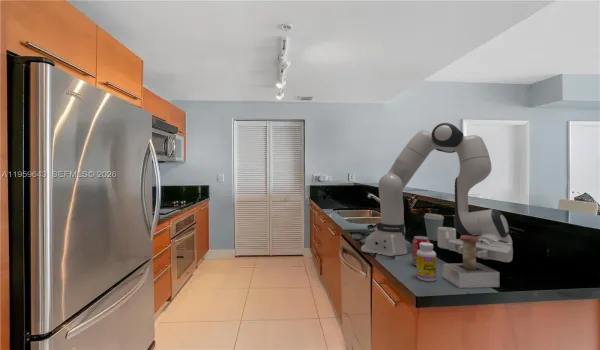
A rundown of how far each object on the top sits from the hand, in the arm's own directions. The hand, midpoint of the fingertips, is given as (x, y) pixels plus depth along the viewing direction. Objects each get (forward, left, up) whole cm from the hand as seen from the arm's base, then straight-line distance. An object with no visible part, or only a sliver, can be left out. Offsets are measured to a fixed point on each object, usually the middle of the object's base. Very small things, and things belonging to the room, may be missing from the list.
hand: (468, 253), depth 98 cm
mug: (-5, +49, -11) cm, 50 cm away
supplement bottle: (-14, -2, -11) cm, 17 cm away
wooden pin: (0, +1, -8) cm, 8 cm away
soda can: (-16, +13, -11) cm, 23 cm away
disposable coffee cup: (-11, +67, -11) cm, 68 cm away
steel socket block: (0, +1, -10) cm, 10 cm away
